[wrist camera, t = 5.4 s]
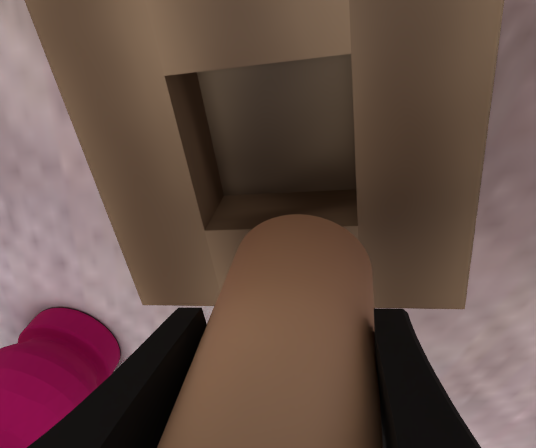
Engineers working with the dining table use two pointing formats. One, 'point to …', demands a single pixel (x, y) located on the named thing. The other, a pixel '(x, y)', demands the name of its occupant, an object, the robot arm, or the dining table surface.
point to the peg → (286, 347)
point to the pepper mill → (51, 372)
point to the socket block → (281, 130)
